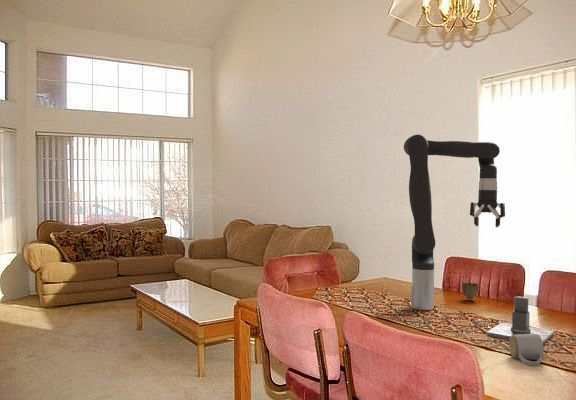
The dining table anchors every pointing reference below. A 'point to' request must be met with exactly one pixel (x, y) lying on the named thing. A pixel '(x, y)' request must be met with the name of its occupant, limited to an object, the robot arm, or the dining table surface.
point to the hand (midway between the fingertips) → (486, 226)
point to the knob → (520, 314)
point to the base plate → (518, 332)
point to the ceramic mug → (527, 348)
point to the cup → (470, 290)
